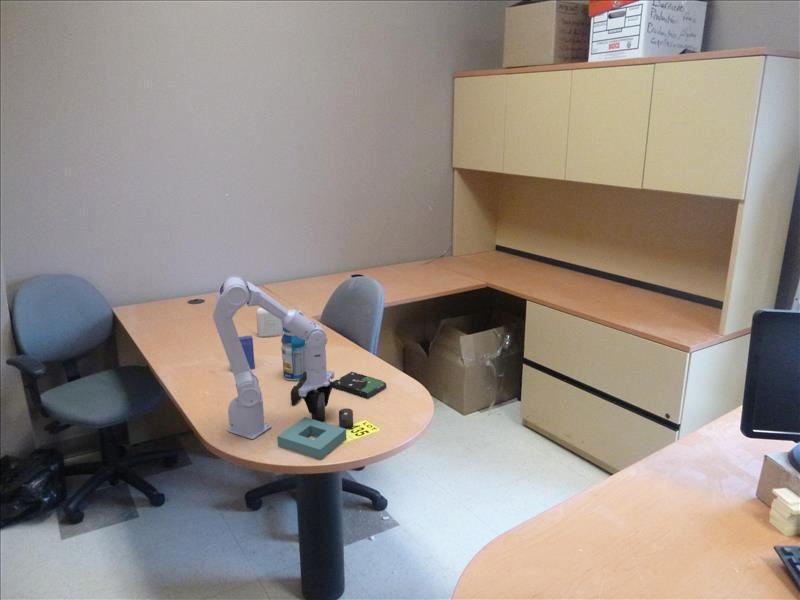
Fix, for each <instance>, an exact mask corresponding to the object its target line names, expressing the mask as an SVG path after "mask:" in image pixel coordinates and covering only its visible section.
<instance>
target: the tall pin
mask: <svg viewBox="0 0 800 600" xmlns="http://www.w3.org/2000/svg"><path fill="white" fill-rule="evenodd" d="M314 391H315V393H318V394H320V395H319V397H318V401H317V412H316V414H311V413H310V414H311V419H313V420H317V421H320V422H324V423H325V422H326V419H327V418H326V407H325V393H324V390H322V389H317V388H316V389H314Z"/></svg>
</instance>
